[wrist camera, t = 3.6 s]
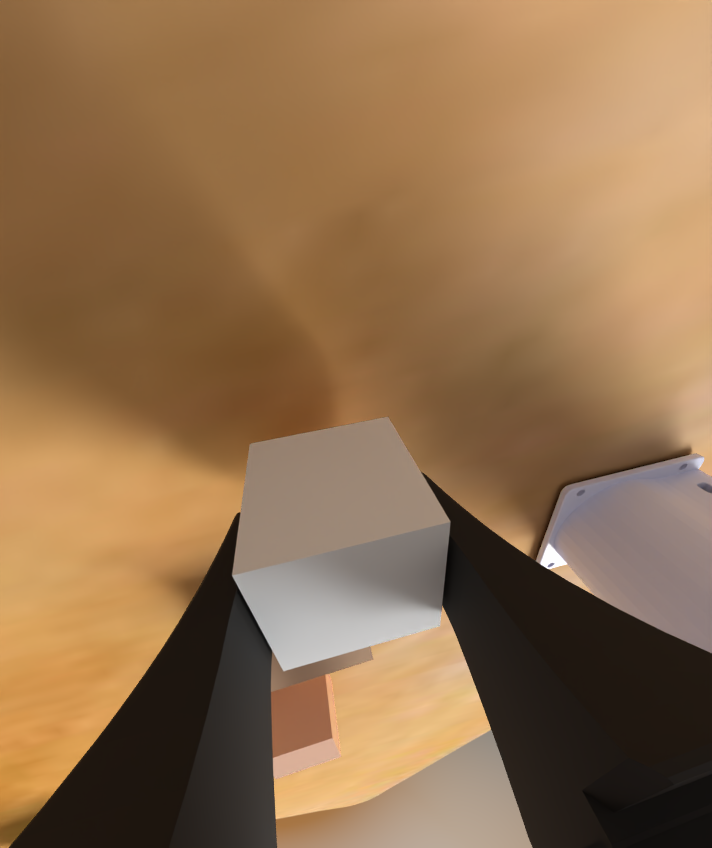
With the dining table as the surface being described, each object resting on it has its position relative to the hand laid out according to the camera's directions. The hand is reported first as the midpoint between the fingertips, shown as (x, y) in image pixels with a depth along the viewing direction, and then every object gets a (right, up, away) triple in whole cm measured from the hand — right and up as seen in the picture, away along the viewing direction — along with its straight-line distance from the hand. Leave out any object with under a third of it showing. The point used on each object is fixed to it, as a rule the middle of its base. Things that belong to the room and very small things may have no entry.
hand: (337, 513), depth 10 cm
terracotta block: (-4, -17, +14) cm, 22 cm away
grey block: (0, +1, +1) cm, 2 cm away
